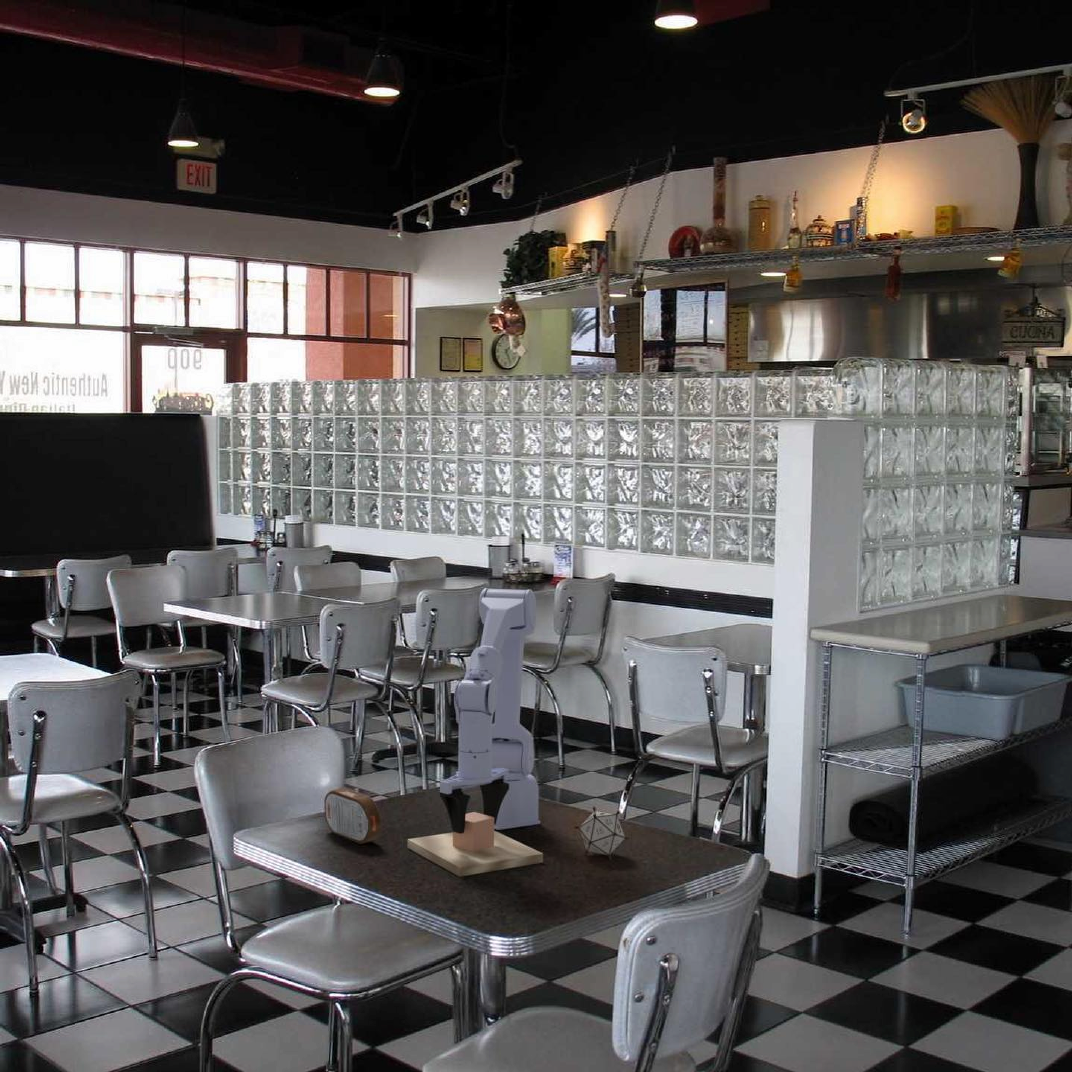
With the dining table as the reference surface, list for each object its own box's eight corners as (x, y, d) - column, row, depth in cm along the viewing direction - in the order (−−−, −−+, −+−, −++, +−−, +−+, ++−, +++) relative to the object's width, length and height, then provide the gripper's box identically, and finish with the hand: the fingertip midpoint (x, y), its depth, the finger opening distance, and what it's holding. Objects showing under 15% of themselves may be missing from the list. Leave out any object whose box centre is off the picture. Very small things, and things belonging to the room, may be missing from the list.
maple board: (487, 835, 237) (487, 827, 237) (542, 862, 221) (543, 853, 221) (407, 847, 228) (407, 839, 228) (459, 876, 212) (459, 867, 212)
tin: (382, 846, 230) (383, 798, 229) (367, 849, 228) (368, 801, 227) (335, 828, 241) (335, 782, 240) (320, 831, 239) (321, 785, 238)
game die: (591, 874, 227) (574, 820, 232) (638, 858, 226) (620, 804, 231) (582, 862, 219) (565, 806, 224) (630, 845, 219) (612, 790, 224)
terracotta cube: (473, 840, 228) (473, 811, 228) (493, 846, 225) (494, 817, 225) (452, 845, 225) (452, 817, 224) (473, 851, 221) (473, 822, 221)
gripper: (488, 740, 232) (488, 815, 232) (427, 752, 221) (427, 831, 222) (517, 746, 227) (516, 823, 228) (456, 758, 216) (455, 839, 217)
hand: (474, 828), depth 224 cm, fingers open, 7 cm apart
